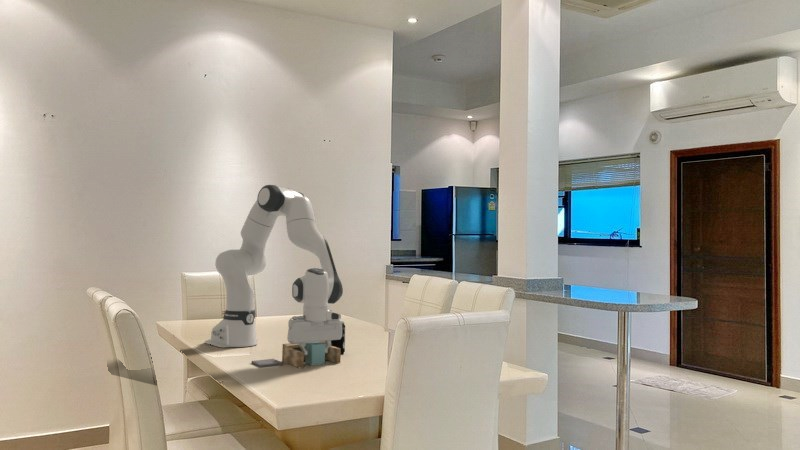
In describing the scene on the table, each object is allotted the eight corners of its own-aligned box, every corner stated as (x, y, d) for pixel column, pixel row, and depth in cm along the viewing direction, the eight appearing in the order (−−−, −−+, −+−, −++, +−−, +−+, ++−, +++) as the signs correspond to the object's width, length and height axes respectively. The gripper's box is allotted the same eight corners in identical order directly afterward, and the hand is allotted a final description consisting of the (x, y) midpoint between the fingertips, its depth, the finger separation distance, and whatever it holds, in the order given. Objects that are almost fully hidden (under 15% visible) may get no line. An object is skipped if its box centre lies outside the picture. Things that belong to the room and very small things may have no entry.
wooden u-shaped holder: (282, 360, 208) (282, 344, 209) (321, 356, 218) (322, 340, 218) (299, 367, 198) (299, 349, 198) (340, 362, 207) (340, 345, 207)
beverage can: (341, 355, 220) (342, 323, 221) (325, 354, 222) (325, 322, 222) (346, 352, 227) (347, 321, 227) (330, 351, 228) (331, 320, 229)
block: (305, 362, 206) (305, 342, 206) (317, 361, 209) (318, 341, 209) (311, 365, 202) (312, 345, 202) (324, 363, 205) (325, 343, 205)
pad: (251, 363, 204) (251, 360, 204) (273, 360, 208) (273, 358, 208) (260, 367, 197) (260, 365, 197) (282, 364, 202) (282, 362, 202)
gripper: (292, 317, 197) (291, 358, 197) (345, 314, 210) (344, 353, 209) (284, 315, 202) (283, 355, 202) (336, 312, 215) (335, 350, 214)
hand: (314, 354), depth 206 cm, fingers open, 6 cm apart
